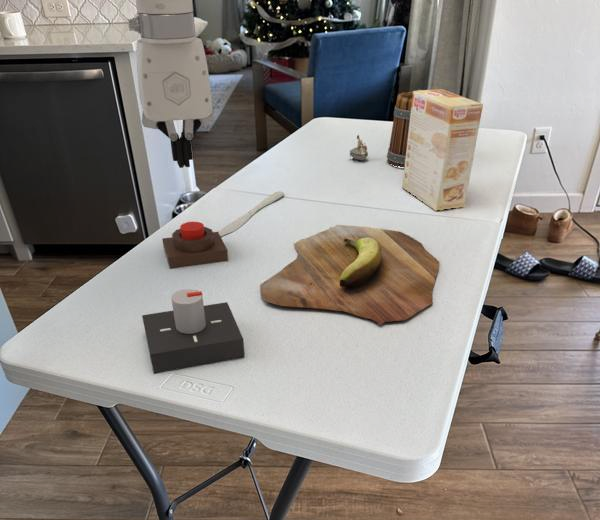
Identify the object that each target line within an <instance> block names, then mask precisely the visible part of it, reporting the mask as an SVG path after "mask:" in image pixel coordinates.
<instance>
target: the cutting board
mask: <svg viewBox="0 0 600 520" xmlns="http://www.w3.org/2000/svg"><path fill="white" fill-rule="evenodd" d="M293 245H294V248H295V250H296V252H297V256H296V259H294V260H293V261H291V262H290V263H288V264H287V265H286V266H284V268H282V269H281V270H279V271H278V272H276V273H275V274H274V275H272V276H271V277H269V278H268V279H266V280H265V281H264V282H262V283H260V285H259V289H260V296H261V298H262V299H263V300H264V301H265V302H266V303H269V304H274V305H277V306H281V307H291V308H292V307H293V308H307V309H321V310H331V311H337V312H338V311H339V312H345V313H348V314H351V315H354V316H357V317H359V318H363V319H370V320H372V321H373V322H376V323H377V324H378V325H380V326H381V325H382V324H384V323H389V322H399V321H406V320H408V319H410V318H411V317H413V316H414V315H416V314H417V313H419V312H420V311H422V310H423V309H425V308H426V307H427V308H428V307H429V306H430V305H432V304H434V302H433V290H434V286H435V281H436V278H437V275H438V273H439V270H440V264H441V263H440V262H441V261H440V260H438V259H437V258H436V257H435V256H434V255H432V253H430V252H429V251H428V250H427V249H426V248H425V246H424V245H423V244H422V242H420V241H418V240H417V239H415V238H414V237H412V236H410V235H408V234H406V233H405V232H402V231H399V230H392V229H386V228H378V227H369V226H359V225H343V224H336V225H334V226H332V227H330V228H327V229H325V230H323V231H321V232H318V233H316V234H313V235H311V236H308V237H306V238H305V237H304V238H301V239H299V240H298V241H296V242H295V243H293Z"/></svg>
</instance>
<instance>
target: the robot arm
mask: <svg viewBox="0 0 600 520" xmlns="http://www.w3.org/2000/svg"><path fill="white" fill-rule="evenodd" d="M135 5H136V15H135V17H133V18H128V19H127V26H128V30H129V31H130V32H131V31H134V32H137V33H138V34H139V35H140V39H139V38H138V39H137V40H136V48H135V49H136V54H135V55H136V71H137V72H136V74H137V83H138V92H139V93H138V94H139V101H140V105H141V109H142V115H141V124H142V126H143V127H144V128H147V129H152V130H159V131H160V132H161V133H162V134H163V135H165V136H166V137H167V138H168V139H169V140H170V150H171V156H172V160H173V162H176V163H177V165H178V167H179V169H182V168H184V167H185V168H190V167H191V165H190V161H191V160H193V159H194V156H193V147H192V139H193V137H194V135H195V134H196V133H197V131H198V130H199V129H200V127H203V126H206V125H209V124H212V123H214V121H215V117H214V114H213V96H212V89H211V82H210V74H209V67H208V63H207V57H206V52H205V51H206V50H205V47H204V43H203V41H202V39H201V38H200V37H196V27H195V26H196V25H195V17H194V15H195V14H194V5H193V0H135ZM174 121H182V125H181V126H182V129H181V132H180V135H179V134H178V132H177V130H176V125H175V122H174Z"/></svg>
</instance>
